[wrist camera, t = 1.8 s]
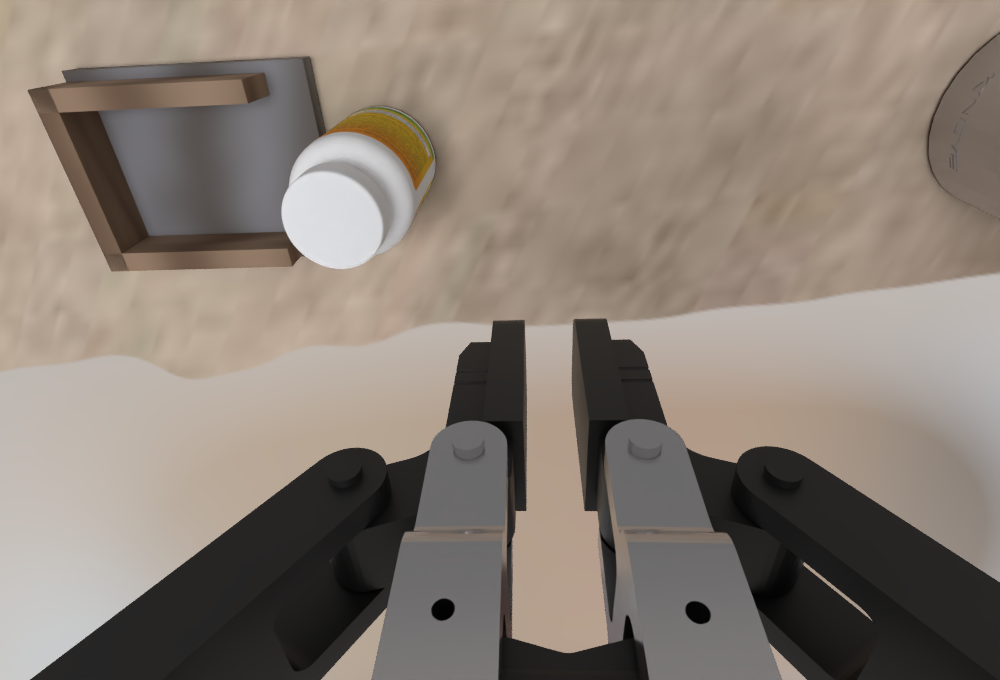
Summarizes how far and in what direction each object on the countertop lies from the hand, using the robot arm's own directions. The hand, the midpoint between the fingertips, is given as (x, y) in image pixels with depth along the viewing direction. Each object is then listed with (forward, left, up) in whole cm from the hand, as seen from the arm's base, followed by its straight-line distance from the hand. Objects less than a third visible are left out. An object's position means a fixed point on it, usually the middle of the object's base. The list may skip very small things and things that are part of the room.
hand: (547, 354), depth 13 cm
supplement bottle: (+8, 0, -19) cm, 21 cm away
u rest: (+17, 0, -19) cm, 26 cm away
